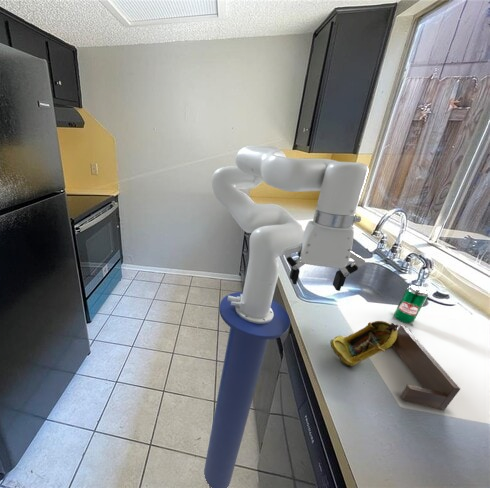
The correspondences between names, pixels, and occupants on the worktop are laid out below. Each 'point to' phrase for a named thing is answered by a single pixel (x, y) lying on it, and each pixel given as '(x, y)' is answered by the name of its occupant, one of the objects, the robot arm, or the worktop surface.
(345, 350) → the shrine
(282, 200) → the worktop surface
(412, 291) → the soda can
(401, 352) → the shoe rack
